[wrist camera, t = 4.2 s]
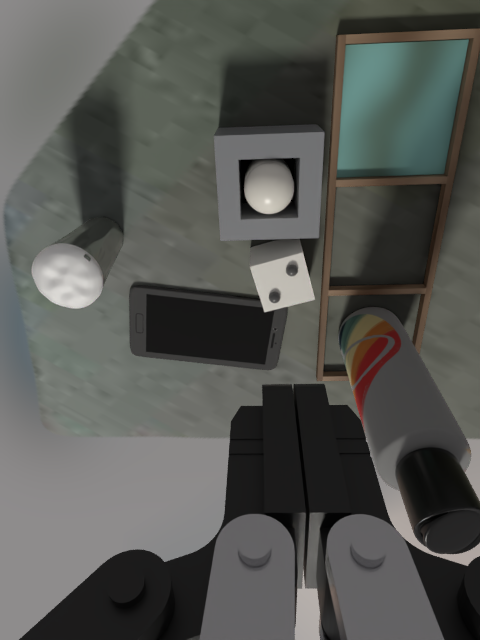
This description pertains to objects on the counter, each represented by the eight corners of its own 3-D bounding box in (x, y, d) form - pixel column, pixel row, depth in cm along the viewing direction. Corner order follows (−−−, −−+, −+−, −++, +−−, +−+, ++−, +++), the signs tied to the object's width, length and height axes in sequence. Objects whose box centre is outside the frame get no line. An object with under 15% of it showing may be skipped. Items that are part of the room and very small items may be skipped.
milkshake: (150, 231, 36) (116, 284, 27) (108, 271, 38) (64, 334, 29) (105, 188, 34) (55, 231, 26) (64, 233, 36) (4, 287, 28)
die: (298, 233, 36) (303, 255, 32) (309, 277, 38) (315, 303, 34) (250, 247, 36) (249, 269, 32) (263, 289, 38) (264, 315, 34)
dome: (291, 153, 32) (296, 166, 28) (290, 200, 34) (295, 219, 30) (244, 154, 32) (242, 168, 28) (245, 202, 34) (244, 221, 30)
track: (478, 29, 28) (483, 28, 28) (411, 374, 42) (414, 379, 42) (336, 35, 29) (338, 34, 28) (316, 375, 43) (317, 381, 42)
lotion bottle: (327, 319, 40) (384, 520, 22) (390, 295, 38) (503, 489, 21) (349, 366, 42) (415, 580, 25) (408, 345, 41) (523, 555, 23)
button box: (316, 124, 32) (324, 131, 28) (312, 220, 35) (318, 238, 32) (218, 127, 32) (213, 135, 28) (223, 223, 35) (220, 240, 32)
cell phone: (130, 281, 39) (128, 285, 38) (289, 299, 39) (289, 304, 38) (131, 351, 42) (129, 355, 42) (276, 367, 43) (276, 371, 42)
